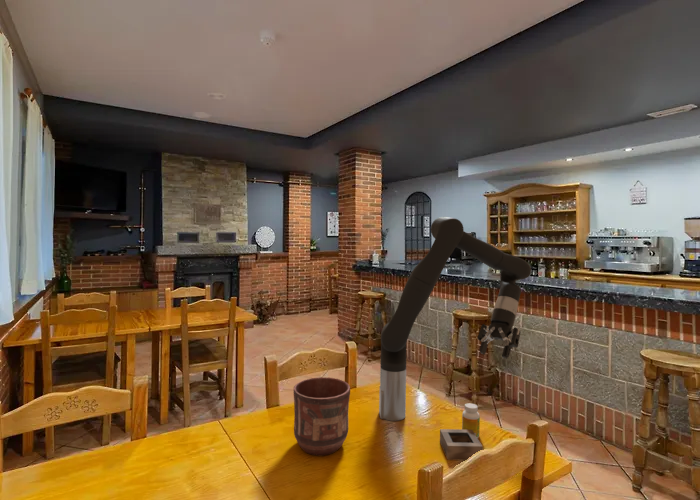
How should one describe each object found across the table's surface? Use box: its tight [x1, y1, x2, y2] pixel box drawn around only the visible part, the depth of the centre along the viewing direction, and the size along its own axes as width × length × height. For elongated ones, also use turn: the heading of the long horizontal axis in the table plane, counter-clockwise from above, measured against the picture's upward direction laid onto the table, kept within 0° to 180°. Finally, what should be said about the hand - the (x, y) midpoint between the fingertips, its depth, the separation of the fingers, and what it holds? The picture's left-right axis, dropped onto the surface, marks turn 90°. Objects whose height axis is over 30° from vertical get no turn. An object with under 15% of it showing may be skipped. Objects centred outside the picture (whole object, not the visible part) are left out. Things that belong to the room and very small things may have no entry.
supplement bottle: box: [461, 402, 481, 439], centre depth 127 cm, size 5×5×10 cm
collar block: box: [439, 428, 484, 461], centre depth 117 cm, size 10×10×4 cm
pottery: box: [293, 376, 351, 456], centre depth 119 cm, size 18×18×18 cm
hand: (493, 355), depth 132 cm, fingers open, 8 cm apart
